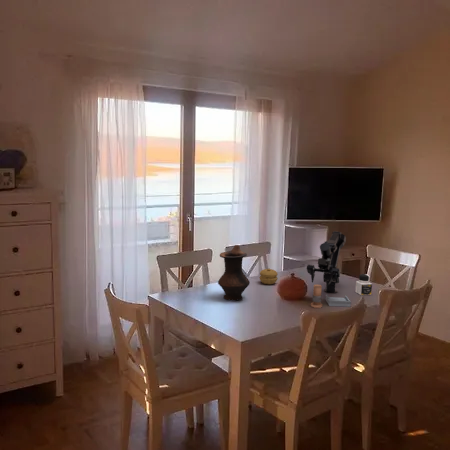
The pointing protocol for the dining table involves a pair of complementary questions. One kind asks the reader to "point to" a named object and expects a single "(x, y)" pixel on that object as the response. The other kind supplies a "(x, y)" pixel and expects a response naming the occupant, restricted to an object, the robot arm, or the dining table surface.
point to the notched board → (338, 301)
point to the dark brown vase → (233, 274)
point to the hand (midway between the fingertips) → (320, 283)
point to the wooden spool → (317, 296)
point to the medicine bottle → (363, 285)
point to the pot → (268, 276)
